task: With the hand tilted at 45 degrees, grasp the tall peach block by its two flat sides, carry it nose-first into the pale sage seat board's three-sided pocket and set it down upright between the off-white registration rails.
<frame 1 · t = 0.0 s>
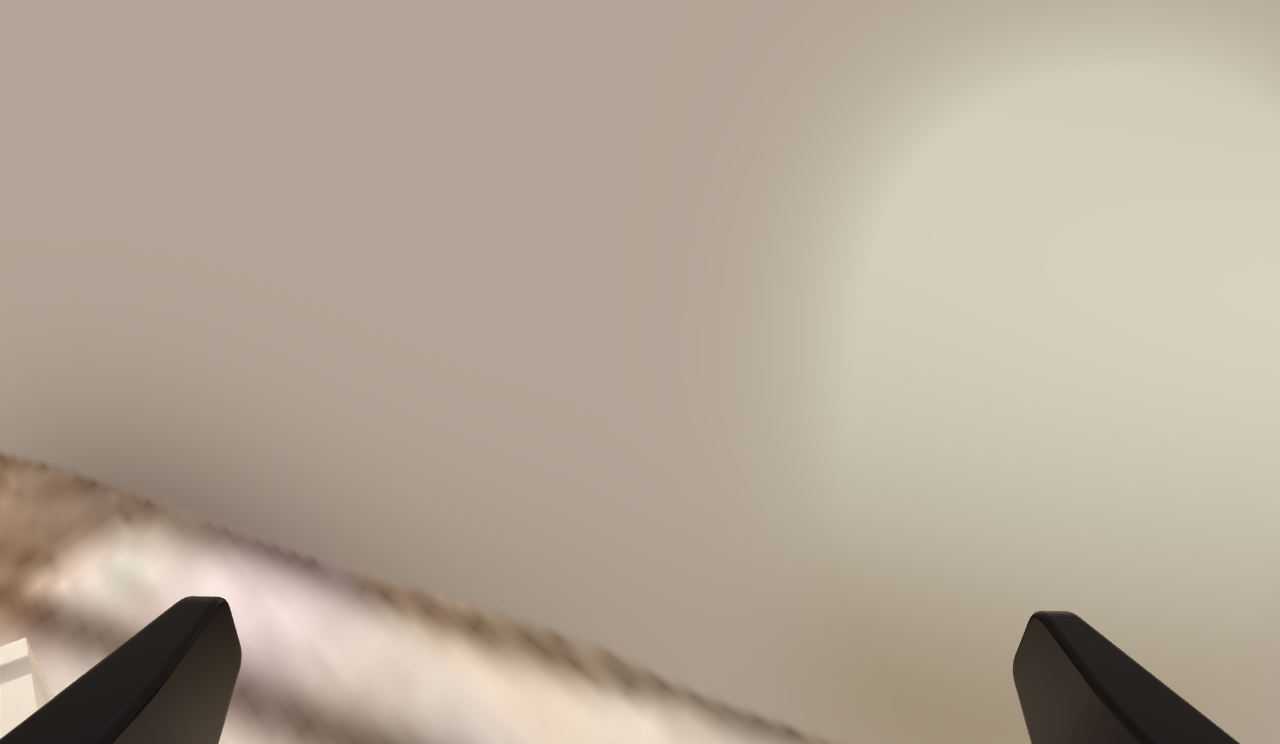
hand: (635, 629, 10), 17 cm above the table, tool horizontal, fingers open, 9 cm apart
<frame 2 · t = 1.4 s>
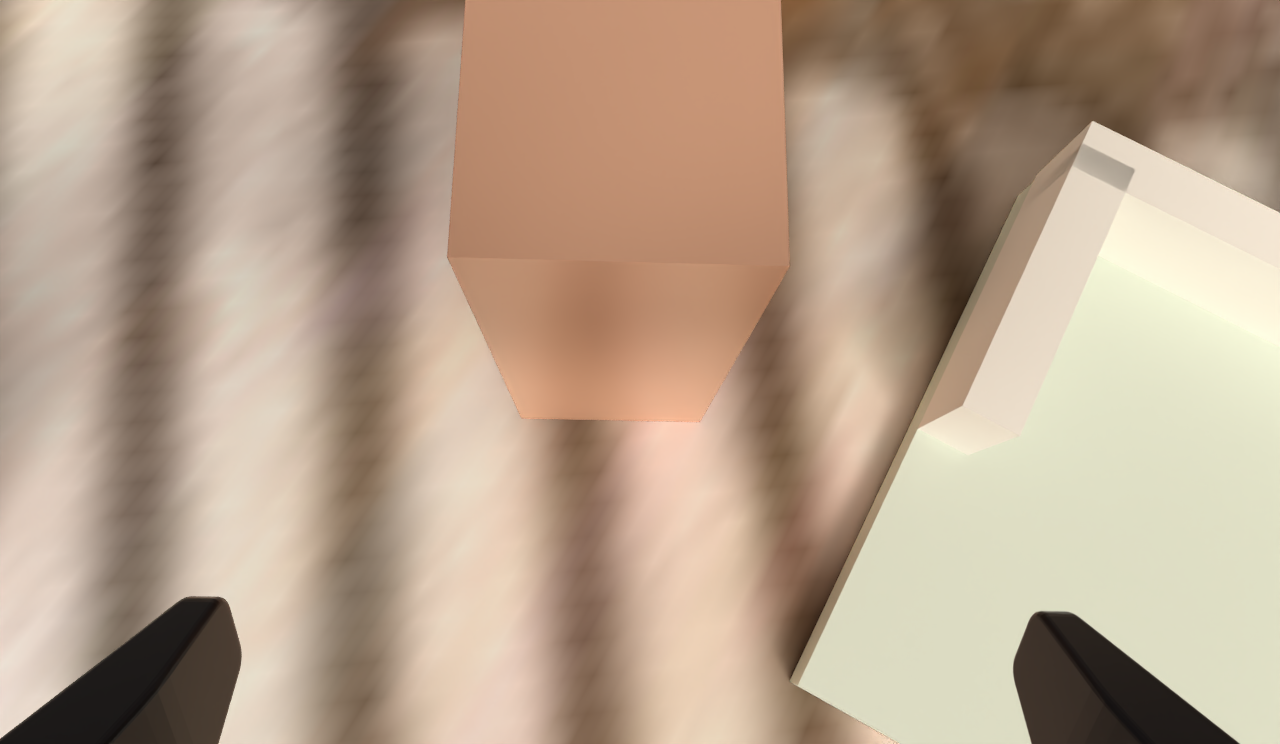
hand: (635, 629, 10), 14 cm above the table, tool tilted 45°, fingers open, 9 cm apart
tall peach block: (613, 318, 25), on the table
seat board: (1163, 477, 24), on the table
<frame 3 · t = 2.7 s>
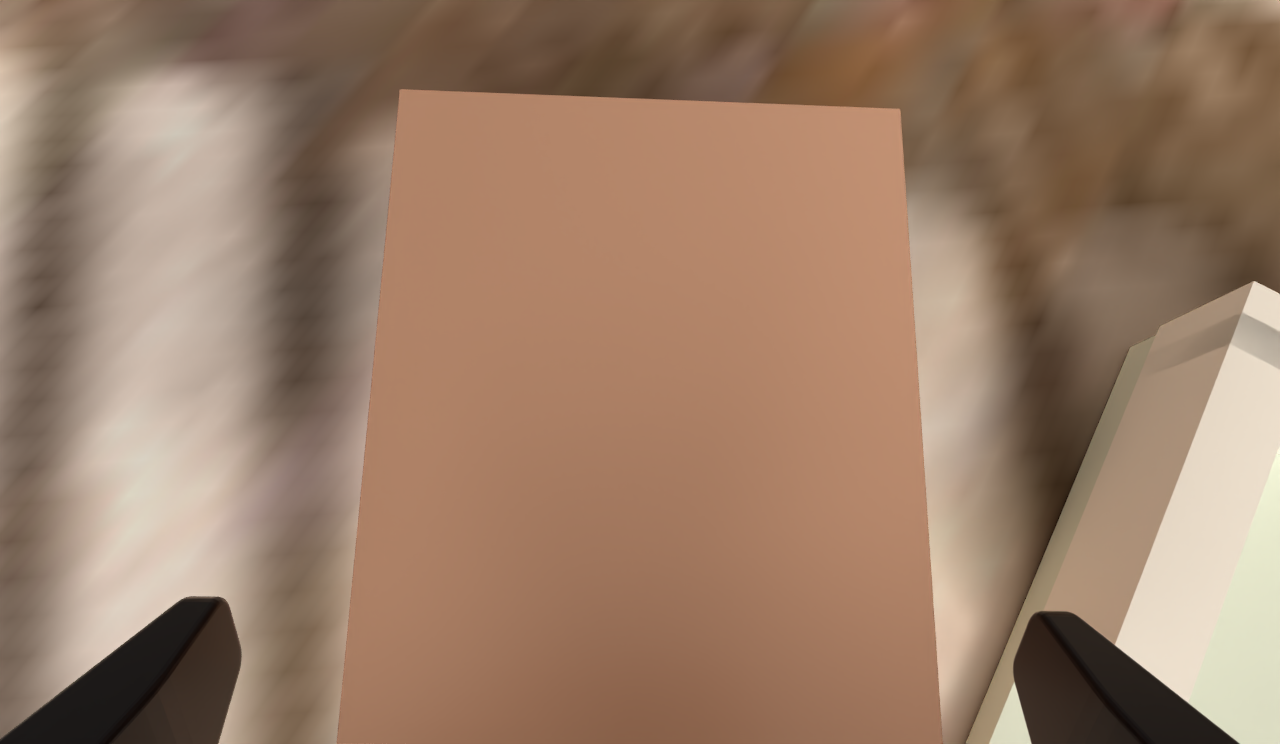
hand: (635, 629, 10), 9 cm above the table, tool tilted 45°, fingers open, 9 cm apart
tall peach block: (619, 512, 19), on the table
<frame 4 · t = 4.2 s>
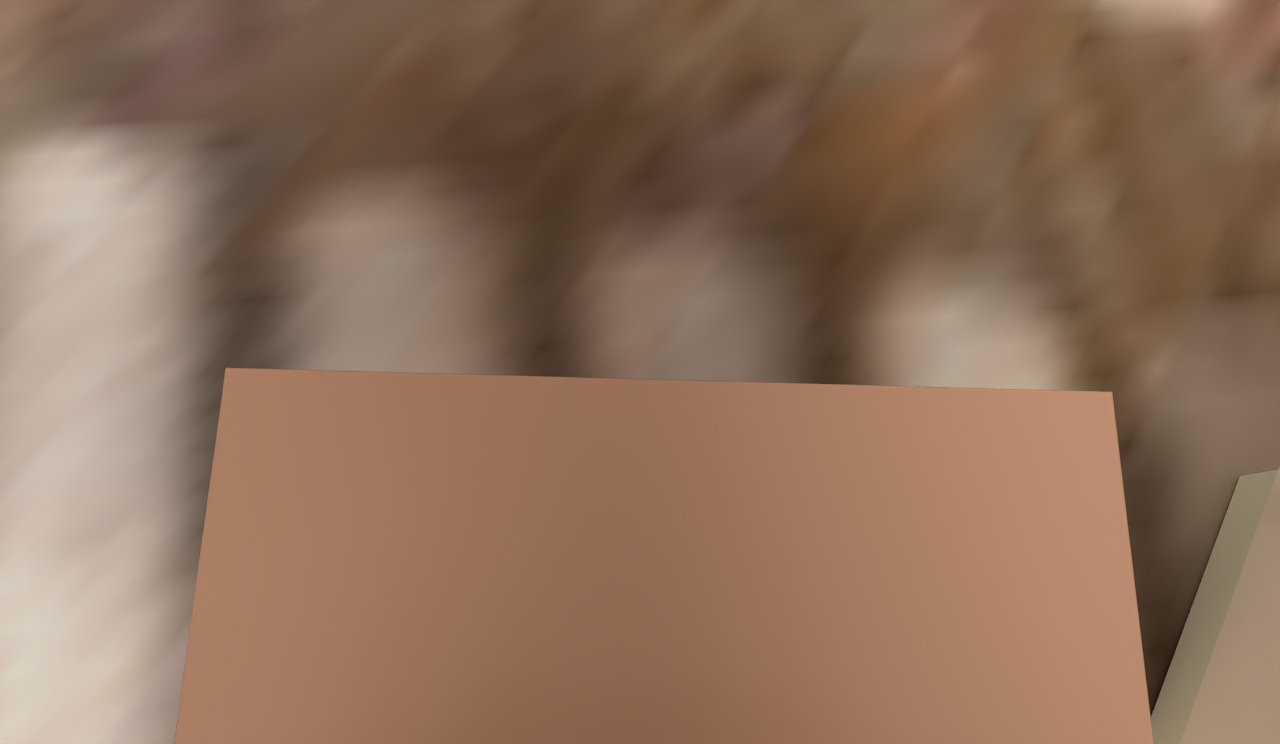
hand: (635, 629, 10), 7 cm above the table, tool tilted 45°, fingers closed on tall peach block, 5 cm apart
tall peach block: (619, 691, 16), on the table, touching gripper
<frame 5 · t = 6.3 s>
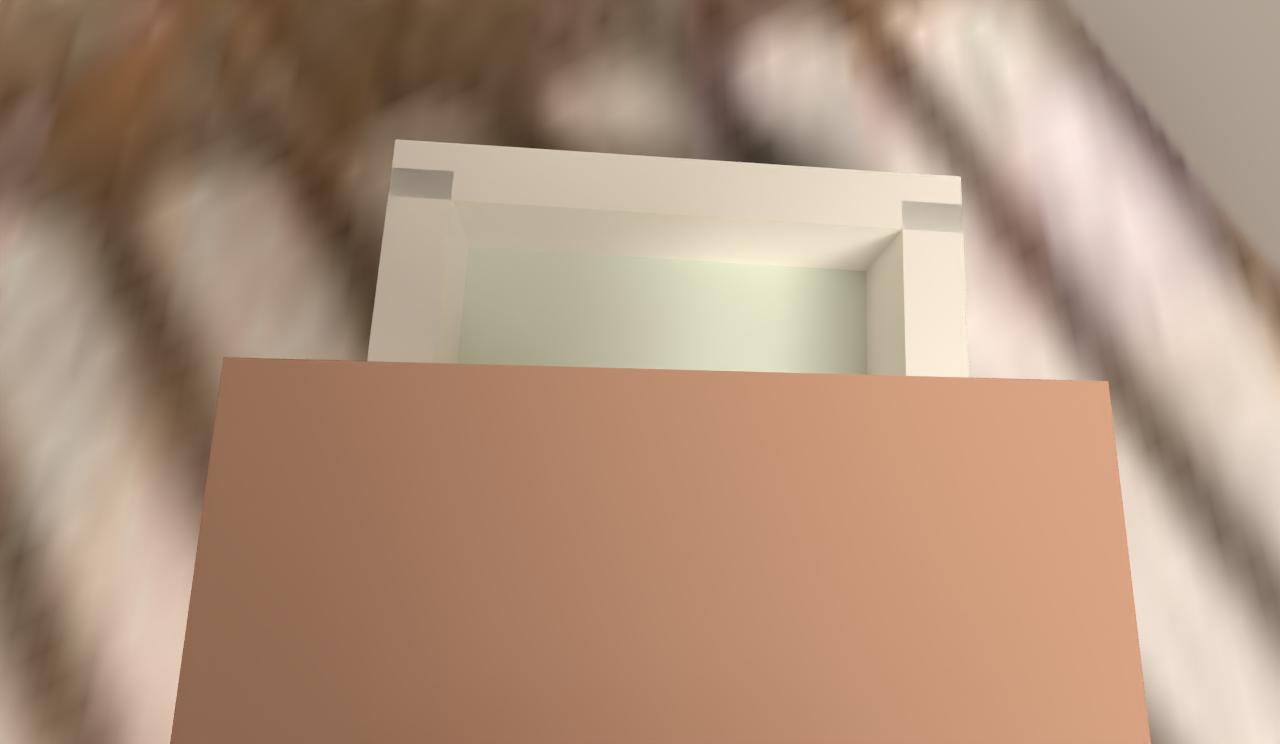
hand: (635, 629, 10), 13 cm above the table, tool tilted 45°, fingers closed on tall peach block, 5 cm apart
tall peach block: (618, 688, 16), point 7 cm above the table, touching gripper
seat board: (659, 434, 24), on the table
when the fingers open (8 cm above the table, at t = 8.2 s): tall peach block stays where it is, resting on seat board.
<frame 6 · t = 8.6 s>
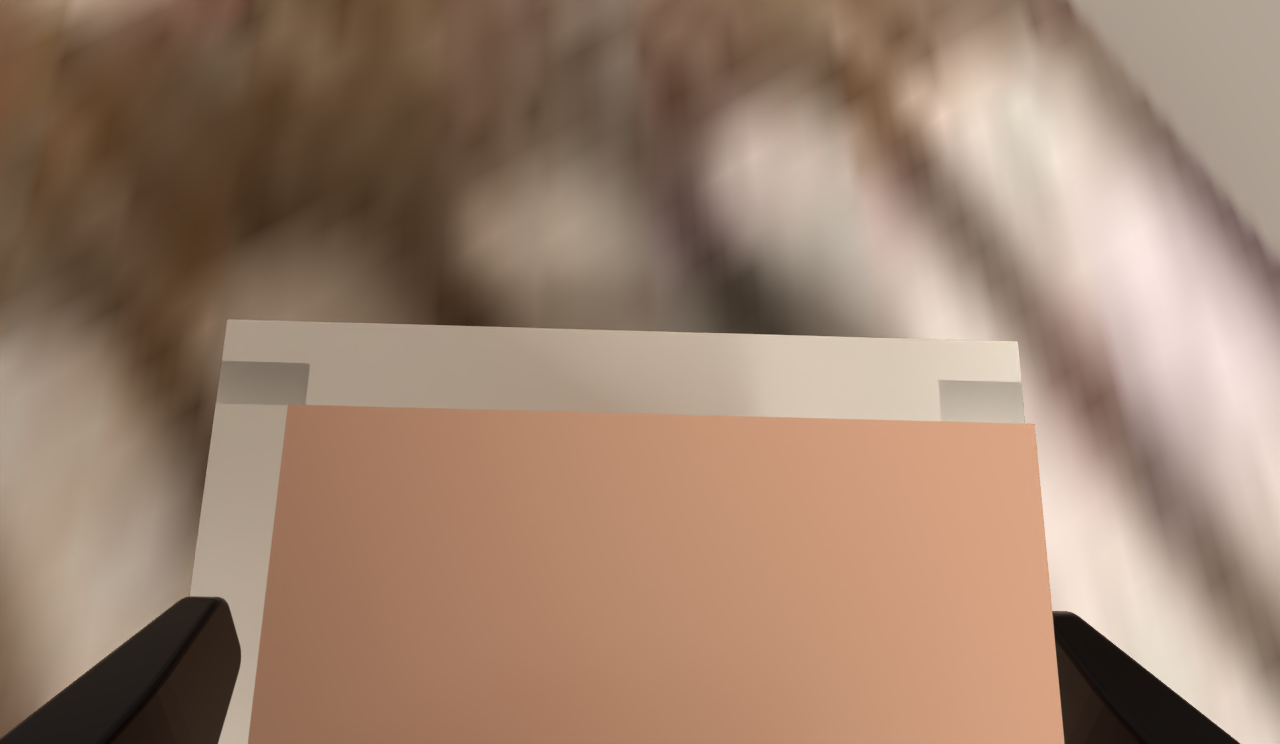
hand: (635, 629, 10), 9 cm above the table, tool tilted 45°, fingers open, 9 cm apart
tall peach block: (619, 685, 17), point 1 cm above the table, touching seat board
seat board: (617, 679, 18), on the table
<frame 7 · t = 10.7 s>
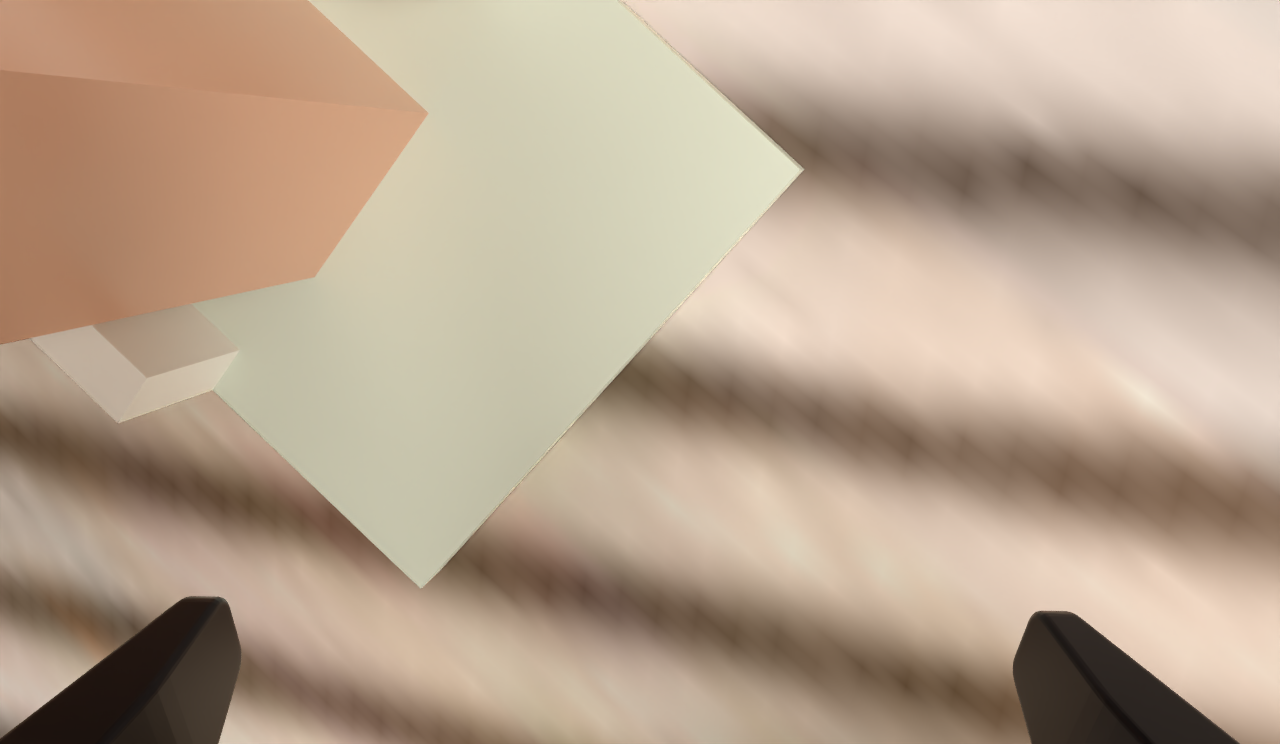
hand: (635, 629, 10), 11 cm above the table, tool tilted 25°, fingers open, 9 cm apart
tall peach block: (276, 111, 20), point 1 cm above the table, touching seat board
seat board: (302, 113, 21), on the table
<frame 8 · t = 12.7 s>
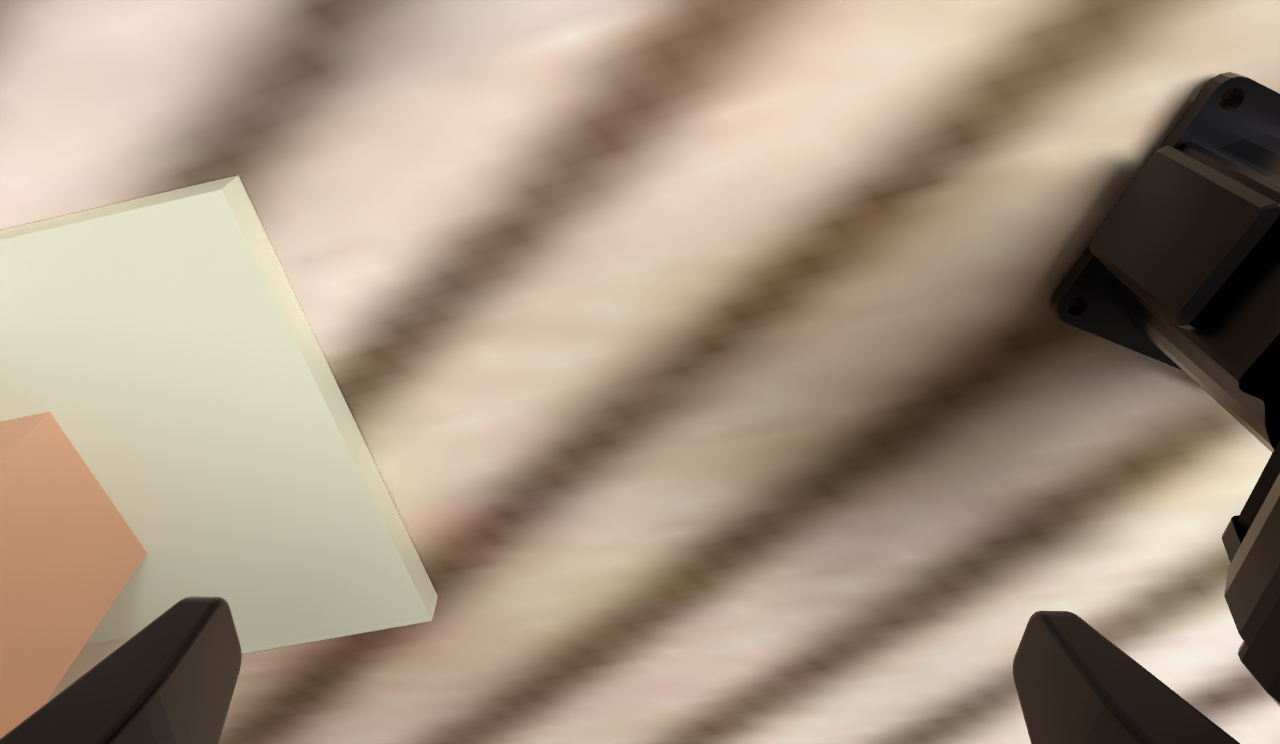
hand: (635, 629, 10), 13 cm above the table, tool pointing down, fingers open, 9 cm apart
tall peach block: (1, 505, 24), point 1 cm above the table, touching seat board
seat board: (22, 483, 25), on the table
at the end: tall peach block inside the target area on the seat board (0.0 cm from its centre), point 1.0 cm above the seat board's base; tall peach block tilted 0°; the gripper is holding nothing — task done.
